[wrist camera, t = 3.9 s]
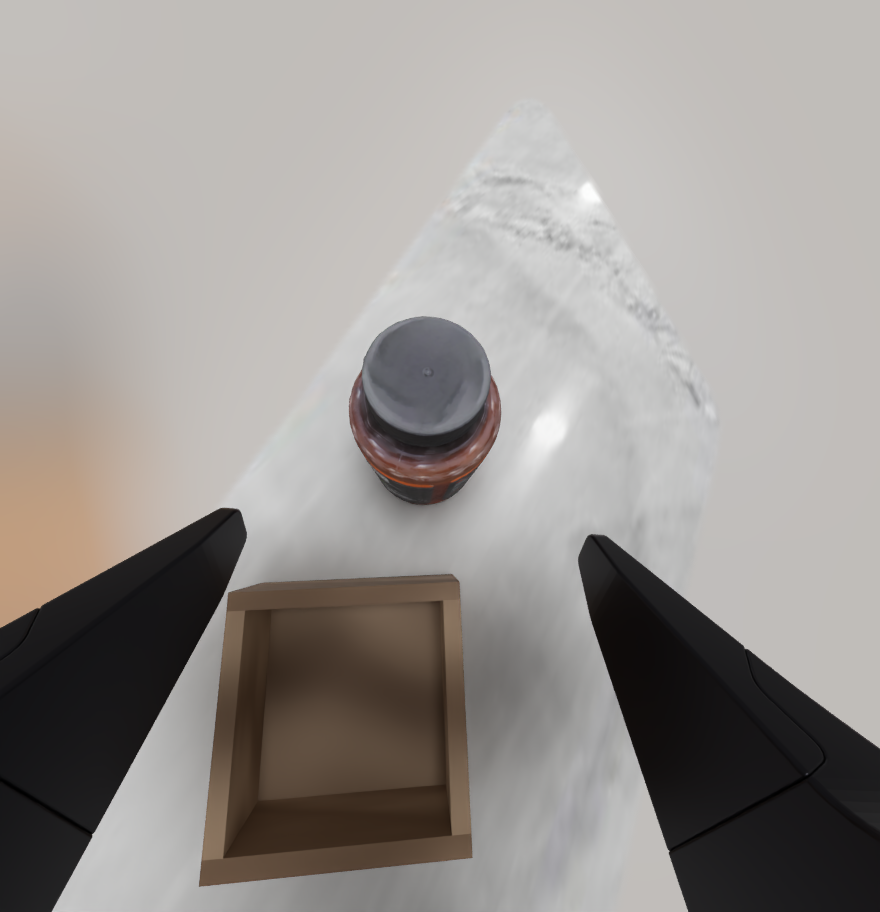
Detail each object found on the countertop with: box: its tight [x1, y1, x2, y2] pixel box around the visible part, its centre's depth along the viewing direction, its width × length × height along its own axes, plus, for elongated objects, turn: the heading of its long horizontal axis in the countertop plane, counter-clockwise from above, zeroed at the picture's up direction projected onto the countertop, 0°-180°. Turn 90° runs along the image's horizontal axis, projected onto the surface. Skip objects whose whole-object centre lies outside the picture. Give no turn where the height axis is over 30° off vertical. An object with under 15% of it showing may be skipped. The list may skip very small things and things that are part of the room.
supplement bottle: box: [349, 316, 501, 505], centre depth 16 cm, size 6×6×11 cm
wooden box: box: [199, 574, 472, 887], centre depth 16 cm, size 11×11×4 cm
